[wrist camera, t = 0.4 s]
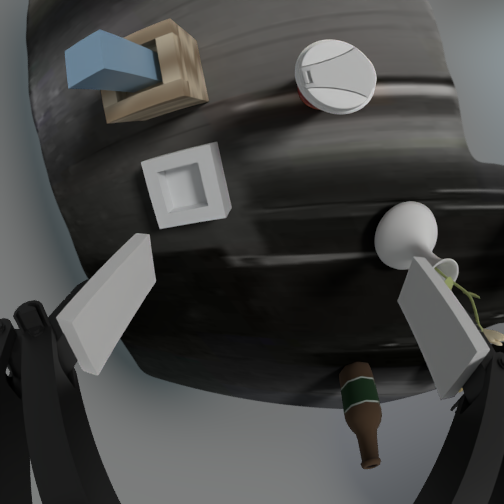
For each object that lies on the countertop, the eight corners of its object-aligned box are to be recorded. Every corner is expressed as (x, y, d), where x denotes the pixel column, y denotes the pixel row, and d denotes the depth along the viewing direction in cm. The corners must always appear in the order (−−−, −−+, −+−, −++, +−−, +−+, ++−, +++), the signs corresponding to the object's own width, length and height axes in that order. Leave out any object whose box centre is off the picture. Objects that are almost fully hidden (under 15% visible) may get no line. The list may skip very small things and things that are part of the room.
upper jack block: (134, 62, 31) (95, 52, 22) (196, 40, 29) (169, 18, 20) (145, 120, 35) (106, 123, 26) (208, 101, 34) (184, 95, 24)
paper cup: (296, 120, 34) (306, 119, 22) (283, 69, 31) (286, 40, 18) (351, 113, 33) (388, 110, 20) (339, 62, 29) (369, 34, 17)
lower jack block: (154, 157, 38) (140, 162, 34) (217, 141, 36) (209, 143, 32) (170, 218, 42) (159, 229, 38) (231, 207, 41) (226, 217, 37)
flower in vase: (358, 245, 41) (417, 369, 19) (396, 184, 36) (504, 266, 14) (412, 277, 43) (475, 387, 20) (448, 225, 38) (540, 314, 15)
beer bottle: (331, 374, 55) (341, 471, 34) (358, 355, 52) (378, 456, 31) (351, 385, 57) (365, 474, 35) (377, 368, 54) (399, 460, 32)
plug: (124, 66, 25) (60, 54, 14) (157, 53, 24) (99, 29, 13) (129, 94, 27) (63, 91, 16) (162, 81, 26) (104, 68, 15)
